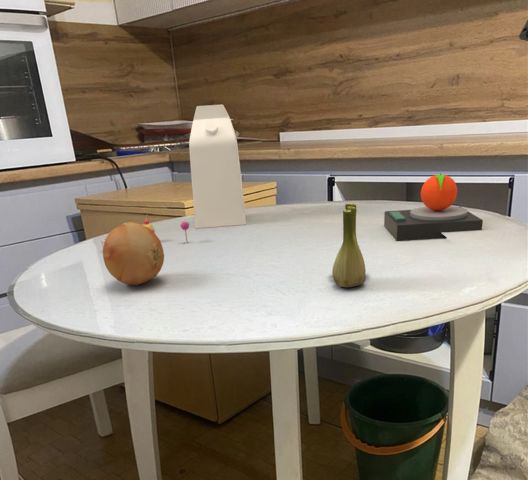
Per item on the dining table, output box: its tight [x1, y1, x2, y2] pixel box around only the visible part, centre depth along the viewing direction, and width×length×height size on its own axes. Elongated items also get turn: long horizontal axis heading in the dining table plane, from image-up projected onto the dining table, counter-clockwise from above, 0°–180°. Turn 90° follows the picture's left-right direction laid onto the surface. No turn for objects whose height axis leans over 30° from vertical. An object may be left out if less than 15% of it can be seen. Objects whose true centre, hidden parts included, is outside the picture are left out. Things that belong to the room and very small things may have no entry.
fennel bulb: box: [331, 203, 367, 288], centre depth 78 cm, size 6×5×12 cm
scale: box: [383, 205, 484, 242], centre depth 108 cm, size 16×14×4 cm
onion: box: [102, 221, 165, 286], centre depth 87 cm, size 10×10×10 cm
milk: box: [188, 104, 247, 229], centre depth 125 cm, size 12×12×26 cm
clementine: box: [420, 173, 458, 211], centre depth 105 cm, size 8×7×7 cm
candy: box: [100, 215, 190, 248], centre depth 112 cm, size 18×8×6 cm, turn 109°
